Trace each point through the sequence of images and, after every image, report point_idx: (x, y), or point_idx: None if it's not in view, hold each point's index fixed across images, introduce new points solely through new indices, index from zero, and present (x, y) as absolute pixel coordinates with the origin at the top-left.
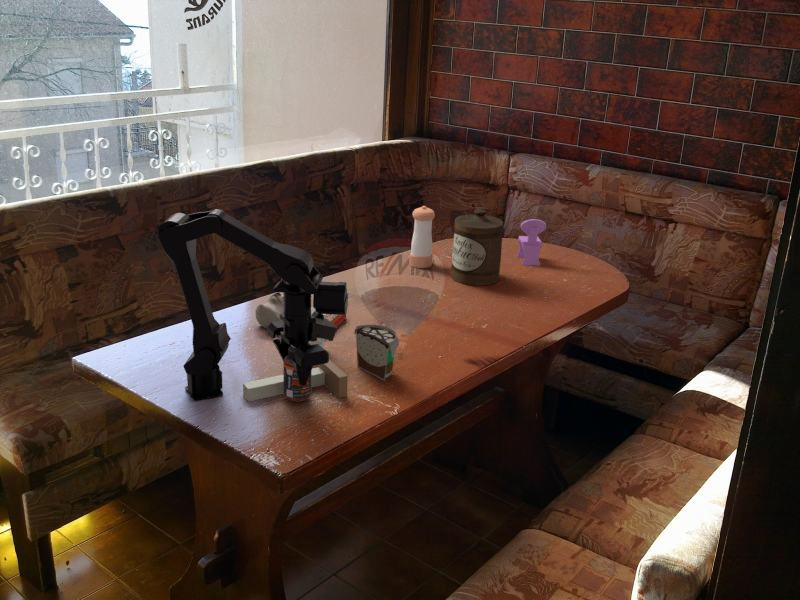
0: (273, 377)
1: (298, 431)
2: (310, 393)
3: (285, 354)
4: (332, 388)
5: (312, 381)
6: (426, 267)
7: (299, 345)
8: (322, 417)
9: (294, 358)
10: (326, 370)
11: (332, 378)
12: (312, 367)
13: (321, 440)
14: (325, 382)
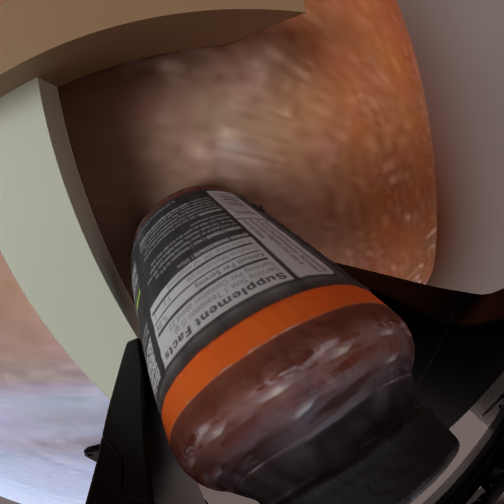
0: (99, 380)
1: (374, 247)
2: (245, 198)
3: (193, 496)
4: (158, 50)
5: (67, 164)
6: None
7: (484, 483)
8: (347, 164)
9: (449, 427)
10: (57, 59)
11: (168, 32)
12: (459, 293)
13: (415, 198)
14: (63, 80)
